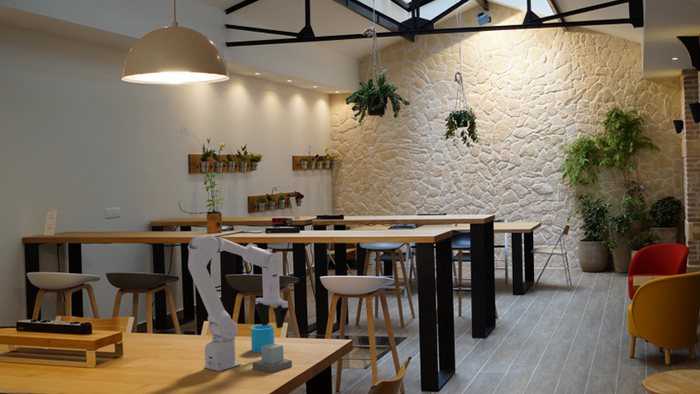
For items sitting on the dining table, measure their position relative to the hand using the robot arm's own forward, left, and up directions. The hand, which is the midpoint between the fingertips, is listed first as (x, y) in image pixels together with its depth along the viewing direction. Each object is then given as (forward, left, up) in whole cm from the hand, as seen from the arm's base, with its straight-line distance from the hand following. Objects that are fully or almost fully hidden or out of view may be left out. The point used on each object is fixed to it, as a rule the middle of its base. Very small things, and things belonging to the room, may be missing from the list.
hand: (272, 326), depth 230 cm
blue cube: (-10, -11, -8) cm, 17 cm away
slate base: (-10, -11, -10) cm, 18 cm away
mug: (+6, +12, -11) cm, 17 cm away
